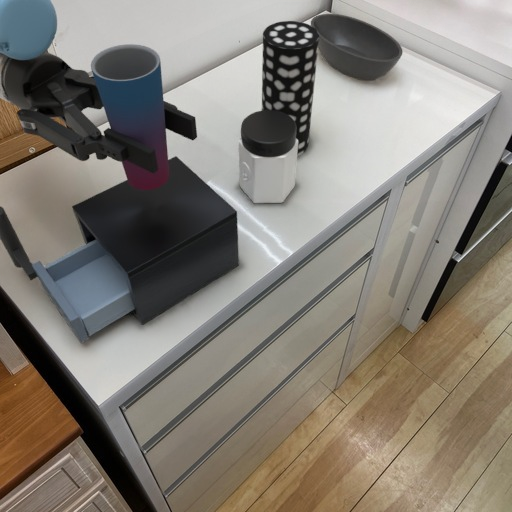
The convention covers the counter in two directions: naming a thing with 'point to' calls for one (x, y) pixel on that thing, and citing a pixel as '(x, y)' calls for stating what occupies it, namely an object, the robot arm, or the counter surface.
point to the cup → (135, 105)
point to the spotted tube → (290, 73)
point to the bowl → (356, 46)
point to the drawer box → (163, 237)
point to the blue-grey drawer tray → (76, 282)
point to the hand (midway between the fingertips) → (174, 144)
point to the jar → (268, 156)
